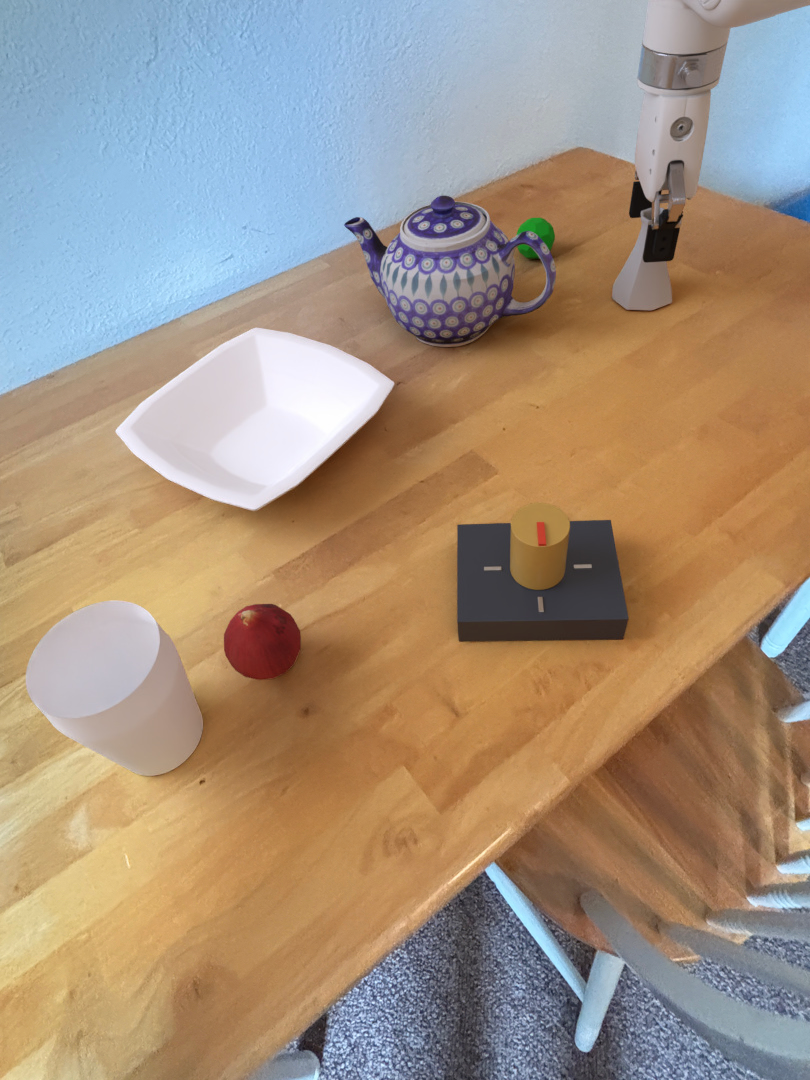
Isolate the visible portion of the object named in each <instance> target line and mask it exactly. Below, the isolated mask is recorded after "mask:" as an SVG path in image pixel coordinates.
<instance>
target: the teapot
mask: <svg viewBox="0 0 810 1080" xmlns="http://www.w3.org/2000/svg"><path fill="white" fill-rule="evenodd" d="M343 226H344V227H345V228H346V229H347V230H348V231H350V233H352V234H353V236H354V237H355V239H357V241H358V242H359V243H358V244H359V245H360V248H361V251H362V254H363V257H364V260H365V263H366V266H367V269H368V273H369V276H370V278H371V281H372V282H373V284H374V287H376V289H377V291H378V292H379V294H380V295H381V296H382V297H383V298H384V299H385V303H386V305H387V307H388V309H389V311H390V313H391V315H392V317H393V319H394V320H395V321H396V322H397V324H398V325H399V326H400V327H401V328H402V329H404V330H405V331H407V333H409V334H411V335H412V336H414V337H415V338H416V340H418V341H419V342H420V343H423V344H425V345H428V346H431V347H432V346H433V347H440V348H452V347H453V348H454V347H455V348H456V347H461V346H466V345H467V344H470V343H472V342H474V341H476V340H478V339H479V338H480V337H482V336H483V335H484V334H486V332H487V331H488V330H489V329H490V327H492V326H493V325H494V324H495V323H496V322H498V321H499V320H501V319H503V318H508V317H514V316H515V317H516V316H521V315H526V314H529V313H533V312H534V311H536V310H538V309H540V308H542V307H543V306H544V305H545V304H546V302H547V301H548V300H549V299H550V298H551V296H552V294H553V292H554V288H555V284H556V278H557V267H556V264H555V260H554V257H553V255H552V253H551V250H550V251H549V249H548V247H547V246H546V244H545V243H544V242H543V240H542V239H541V238H540V237H539V236H538V235H536V234H535V233H533V232H531V231H524V232H522V233H520V234H518V235H517V236H516V235H515V236H513V237H512V238H510V239H509V237H508V235H506V233H505V232H504V231H503V230H502V229H500V228H499V227H498V226H497V225H496V223H494V222H493V221H492V220H491V217H490V214H489V213H488V211H487V210H486V209H485V208H483V207H482V206H480V205H477V204H475V203H471V202H465V201H455V199H454V198H453V197H451V196H450V195H439V196H437V197H435V198H434V199H432V201H431V202H430V204H427V205H424V206H421V207H419V208H417V209H415V210H413V211H411V212H410V213H409V214H408V215H406V217H404V219H403V220H402V221H401V224H400V227H399V233H398V234H396V235H395V236H394V238H393V239H392V240H391V241H390V243H389V244H388V246H386V245H385V244H384V243H383V242H382V241H381V239H380V237H379V236H378V235H377V233H376V231H375V230H374V228H373V227H372V225H371V224H370V222H368V221H367V219H365V218H364V217H361V216H355V217H353V218H350V219H348V220H347V221H346V222H345V223H344V224H343ZM521 244H525V245H528V246H530V247H531V248H532V249H533V250H534V251H535V252H536V253H537V255H538V256H539V259H540V262H541V263H542V266H543V268H544V272H545V278H546V279H545V285H544V289H543V290H542V292H541V293H540V294H539V295H538V296H537V297H535V298H534V299H531V300H528V301H525V302H519V301H517V300H515V298H514V297H513V296H512V293H513V290H514V284H515V283H514V282H515V273H516V272H515V271H516V261H515V258H514V257H515V251H516V249H517V246H519V245H521Z"/></svg>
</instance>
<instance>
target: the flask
mask: <svg viewBox="0 0 810 1080" xmlns="http://www.w3.org/2000/svg"><path fill="white" fill-rule="evenodd" d="M664 209H665V208H664V207H660V214H661V213H662V211H663V210H664ZM640 222H641V226H640V231H639V233H638V237H637V239H636V242H635V244H634V247H633V248H632V250H631V252H630V253H629V256H628V257H627V260H626V261H625V263H624V265H623V267H622V268H621V270H620V272H619V274H618V275H617V277H616V279H615V281H614V283H613V284H612V293H611V299H612V300H613V301H615V302H616V303H618V304H619V305H620V306H621V307H623V309H625V310H627V311H654V310H656V309H657V310H658V309H659V308H662V307H664V306H665V307H666V306H667V305H670V304H672V303H673V288H672V283H671V278H670V273H669V268H668V261H663V262H648V263H645V262H644V261H643V251H644V246H645V240H646V234H647V228H648V225H652V208H648V209H646V210H643V211H641V218H640Z"/></svg>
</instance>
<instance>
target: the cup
mask: <svg viewBox="0 0 810 1080" xmlns="http://www.w3.org/2000/svg"><path fill="white" fill-rule="evenodd" d="M25 688H26V692H27V695H28V696H29V699H30V700H31V701H32V704H34V706H35V707H36V708H37V709H38V710H39V711H40V712H41V713H42V714H43V716H44V717H45V718H46V719H47V720H48V722H49V723H50V724H51V725H52V726H53V727H54V728H55V729H56V730H57V731H58V732H60V733H61V734H62V735H64V736H65V737H66V738H69V739H71V740H72V741H73V742H76V743H78V744H80V745H81V746H83V747H85V748H87V749H88V750H91V751H92V752H95V753H96V754H98V755H100V756H102V757H104V758H106V759H107V760H110V761H111V762H113V763H115V764H117V765H119V766H120V767H123V768H124V769H126V770H128V771H130V772H132V773H134V774H136V775H139V776H144V777H152V776H153V777H154V776H161V775H163V774H167V773H169V772H171V771H173V770H175V769H176V768H178V767H180V766H181V765H182V764H183V763H185V761H187V760H188V759H189V758H190V757H191V755H192V754H193V753H194V752H195V751H196V749H197V747H198V745H199V743H200V741H201V738H202V735H203V730H204V720H203V715H202V712H201V710H200V706H199V704H198V701H197V699H196V696H195V693H194V691H193V688H192V686H191V683H190V680H189V678H188V675H187V673H186V670H185V667H184V664H183V661H182V659H181V657H180V654H179V651H178V649H177V646H176V644H175V643H174V641H173V639H172V638H171V636H170V634H168V633H167V632H166V631H165V630H164V629H163V628H162V626H161V625H160V624H159V623H158V621H157V620H156V619H155V617H154V616H153V615H152V614H151V612H149V610H147V609H145V608H144V607H143V606H141V605H139V604H136V603H134V602H131V601H127V600H116V599H115V600H104V601H99V602H94V603H90V604H88V605H85V606H82V607H81V608H78V609H76V610H74V611H73V612H70V613H69V614H67V615H66V616H64V617H63V618H61V619H60V620H59V621H57V623H55V624H53V626H51V628H50V629H48V631H47V632H46V633H44V635H43V636H42V637H41V638H40V640H39V641H38V642H37V644H36V646H35V647H34V649H33V651H32V653H31V655H30V657H29V660H28V662H27V666H26V670H25Z"/></svg>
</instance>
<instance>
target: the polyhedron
mask: <svg viewBox="0 0 810 1080" xmlns="http://www.w3.org/2000/svg"><path fill="white" fill-rule="evenodd" d="M524 231H531V232H533V233H535V234H536V235H538V236H539V237H540V238H541V239H542V240H543V242H544V243H545V244H546V246H547V247H548V249H549V251H550V252H551V250H552V248H553V247H554V243H555V240H556V234H555V230H554V227H553V225H552V224H551V222H549V221H548V220H546V219H545V218H543V217H530V218H528V219H526V220H525V221H524V222H523V223H522V224H520V226H519V227H518V229H517V231H516V235H515V236H517V235H518V234H520V233H522V232H524ZM516 249H517V250H518V252H519V253H520V255H522V256H523V257H525V259H530V260H532V259H533V260H535V259H540V258H539V256H538V255H537V253H536V252H535V251H534V250H533V249H532V248H531V247H530V246H528V245H525V244H521V245H519V246H517V247H516Z"/></svg>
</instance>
